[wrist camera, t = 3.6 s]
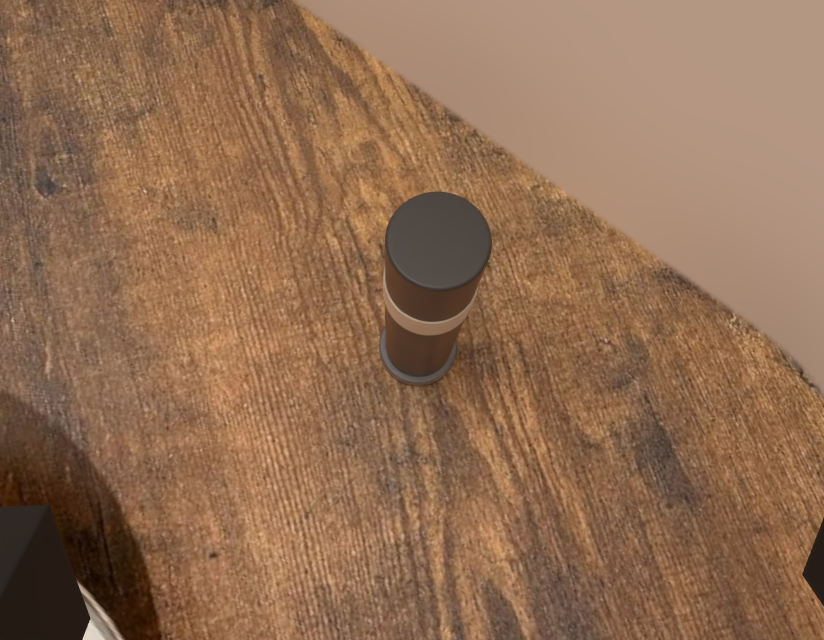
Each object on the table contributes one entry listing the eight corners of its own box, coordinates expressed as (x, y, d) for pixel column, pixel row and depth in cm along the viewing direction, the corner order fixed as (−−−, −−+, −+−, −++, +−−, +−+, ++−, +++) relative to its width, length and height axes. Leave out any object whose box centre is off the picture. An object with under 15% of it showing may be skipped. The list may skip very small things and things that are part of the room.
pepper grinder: (453, 310, 24) (496, 179, 15) (458, 384, 24) (507, 297, 14) (378, 313, 24) (373, 182, 15) (381, 387, 24) (377, 302, 14)
